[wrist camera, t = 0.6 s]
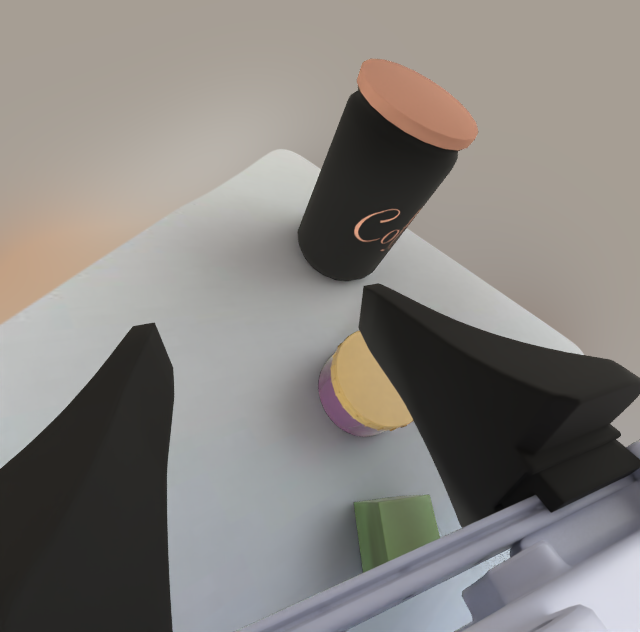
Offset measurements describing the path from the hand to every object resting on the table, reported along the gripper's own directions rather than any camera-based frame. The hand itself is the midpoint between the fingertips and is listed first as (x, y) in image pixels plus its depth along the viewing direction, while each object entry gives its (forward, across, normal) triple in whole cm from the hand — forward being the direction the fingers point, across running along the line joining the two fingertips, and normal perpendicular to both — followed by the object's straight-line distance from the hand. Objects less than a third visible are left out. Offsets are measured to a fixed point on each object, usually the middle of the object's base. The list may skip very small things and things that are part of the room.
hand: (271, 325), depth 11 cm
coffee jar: (+24, -12, +10) cm, 29 cm away
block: (-2, -7, +21) cm, 22 cm away
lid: (+6, -10, +13) cm, 17 cm away
